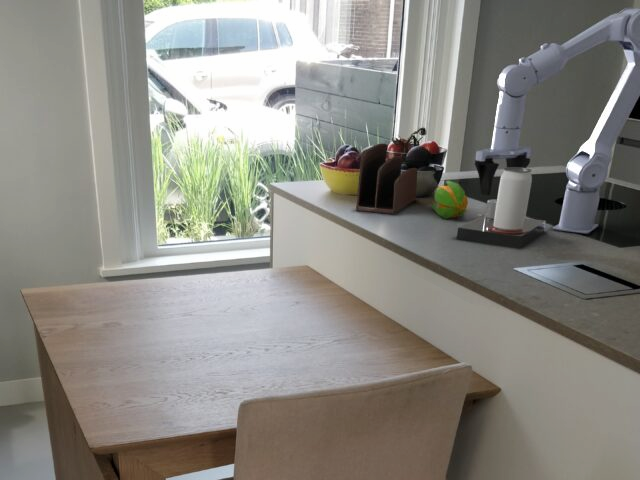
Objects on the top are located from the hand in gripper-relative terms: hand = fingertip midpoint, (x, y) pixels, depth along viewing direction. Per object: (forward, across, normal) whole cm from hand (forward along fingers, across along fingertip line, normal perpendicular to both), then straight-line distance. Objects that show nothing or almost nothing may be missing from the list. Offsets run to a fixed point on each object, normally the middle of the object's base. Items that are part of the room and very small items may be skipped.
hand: (497, 193), depth 188 cm
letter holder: (+8, -6, +32) cm, 33 cm away
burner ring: (+5, -6, -10) cm, 13 cm away
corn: (+8, +1, +17) cm, 19 cm away
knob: (+5, 0, 0) cm, 5 cm away
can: (+5, -6, -10) cm, 13 cm away
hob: (+8, -3, -6) cm, 10 cm away
